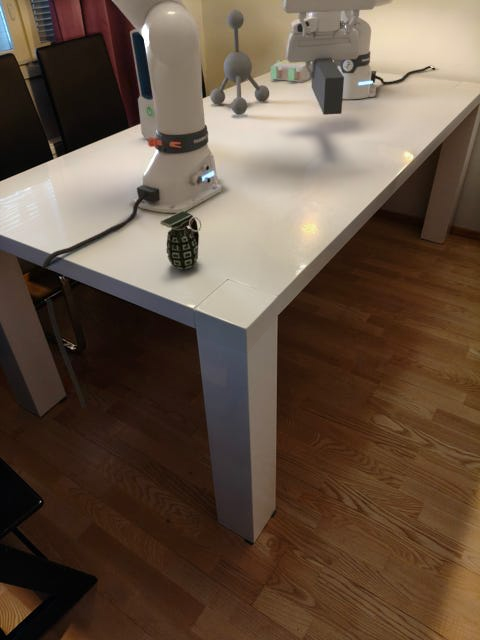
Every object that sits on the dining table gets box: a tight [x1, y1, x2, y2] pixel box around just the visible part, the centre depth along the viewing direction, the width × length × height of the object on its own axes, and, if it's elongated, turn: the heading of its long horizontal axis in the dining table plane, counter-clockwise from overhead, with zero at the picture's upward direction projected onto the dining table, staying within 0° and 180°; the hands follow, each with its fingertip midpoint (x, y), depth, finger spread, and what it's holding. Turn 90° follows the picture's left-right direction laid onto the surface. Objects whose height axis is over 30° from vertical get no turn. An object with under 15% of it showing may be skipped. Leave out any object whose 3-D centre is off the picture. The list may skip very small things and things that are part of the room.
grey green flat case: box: [270, 59, 312, 83], centre depth 210 cm, size 26×6×20 cm
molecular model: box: [209, 9, 270, 116], centre depth 169 cm, size 24×22×30 cm
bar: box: [311, 58, 344, 116], centre depth 132 cm, size 27×5×9 cm, turn 0°
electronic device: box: [129, 28, 158, 140], centre depth 143 cm, size 12×8×30 cm, turn 47°
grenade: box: [159, 211, 202, 271], centre depth 88 cm, size 7×6×10 cm
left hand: (327, 35), depth 109 cm, fingers open, 8 cm apart
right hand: (321, 77), depth 140 cm, fingers closed on bar, 4 cm apart
